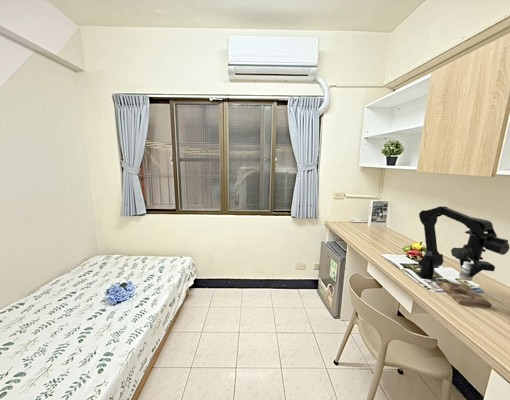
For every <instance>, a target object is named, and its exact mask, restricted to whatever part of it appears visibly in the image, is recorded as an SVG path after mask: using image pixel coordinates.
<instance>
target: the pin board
mask: <svg viewBox="0 0 510 400" xmlns="http://www.w3.org/2000/svg"><path fill="white" fill-rule="evenodd" d="M436 286H438V287H439V288H440V289H441V288H442V289H443V290H444V291H443V290H442V289H441V290H442V291H443V292H444V293H446V295H447V296H449V297H450V298H451V299H453V300H454V301H455V302H456V303H457V304H458V305H465V306H472V307H479V308H480V307H483V308H490V309H491V307H492V306H493V305H492V302H490V301H488V300H487V299H485V298H484V297H483V296H481V295H480V294H479V293H477V292H476V291H475V290H473V289H472V288H471V287H469V286H468V285H467V284H465V283H457V282H447V281H439V280H437V282H436Z"/></svg>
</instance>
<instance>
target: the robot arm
mask: <svg viewBox="0 0 510 400" xmlns="http://www.w3.org/2000/svg"><path fill="white" fill-rule="evenodd" d="M441 216H445V217H448V218H450V219H452V220H454V221H456V222H459V223H461V224H463V225H464V226H465V227H466V228H467V229H469V230H467V231H466V230H465V232H464V233H465V234H467V235H469V237H468V239H467V244H463V246H462V247H453V248H452V249H451V250H450V253H451V256H452V257H454V258H455V259H456V260H459V265H460V269H461V268H462V265H464V262H470V263H473V264H469V265H470V266H471V269H470V274H469V277H474V276H476V275H477V274H479V273H480V272H482V271H485V272H486V271H487V272H495V269H496V266H495V265H494V264H492V263H491V262H489V261H485V260H484V257H482V254H483V252H484V253H485V252H486V250H487V251H490V252H493V253H496V254H498V255H502V256H504V255H506V254H507V253H508V252H509V250H510V244H509V239H505V238H500V237H498V234H497V233H496V232H495V229H494V226H493V223H492V221H490V220H487V219H484V218H483V219H482V218H480V217H479V218H477V217H472V216H469V215H466V213H465V214H464V213H462V212H460V211H457V210H454V209H452V208H449V207H447V206H446V205H445V206H438V207H434V208H430V209H427V210H426V209H425V210H423V209H422V210H421V211H420V212H419V213H418V217H419V220H420V222H421V224H422V225H423V229H424V241H425V248H426V251H425V253H424V254H423V259H422V260H418V261H417V262H418V266H419V267H420V270H419V271H416V273H417V274H418V275H419V276H420V277H421V278H422V279H426V280H427V279H428V280H435V277H434V274H435V273H434V272H435V269H438V268H439V267H441V266H442V265H443V263H444V262H445V261H444V255H443V253H440V252H439V251H438V243H437V234H436V224H437V222H438V217H441Z"/></svg>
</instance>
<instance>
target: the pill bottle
mask: <svg viewBox="0 0 510 400" xmlns="http://www.w3.org/2000/svg"><path fill="white" fill-rule="evenodd" d="M473 263H474V262H464V265H462V268H461V267H460V272H459V275H458V277H459V278H460V279H461V280H463V281H464V280H465V281H468V282H471V281H473V277H474V276H473V277H469V274H470V269H471V266H470V265H469V264H473Z"/></svg>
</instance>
